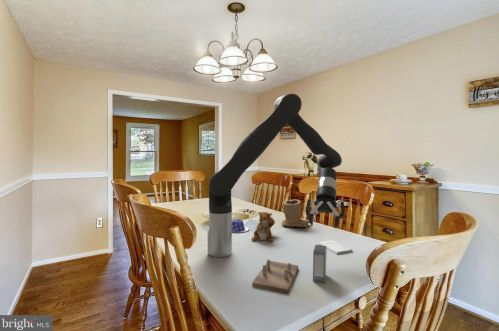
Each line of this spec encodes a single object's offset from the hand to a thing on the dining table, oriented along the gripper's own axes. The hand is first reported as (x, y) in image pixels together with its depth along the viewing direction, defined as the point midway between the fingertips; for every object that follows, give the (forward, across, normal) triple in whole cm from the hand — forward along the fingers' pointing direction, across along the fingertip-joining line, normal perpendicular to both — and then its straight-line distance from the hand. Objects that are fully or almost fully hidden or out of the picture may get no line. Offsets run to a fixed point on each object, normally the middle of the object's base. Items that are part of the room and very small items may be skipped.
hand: (323, 225), depth 92 cm
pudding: (-8, -46, +29) cm, 55 cm away
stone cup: (-21, -19, +42) cm, 50 cm away
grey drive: (+18, 0, +3) cm, 18 cm away
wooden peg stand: (+21, -13, -1) cm, 25 cm away
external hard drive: (-3, +3, +24) cm, 25 cm away
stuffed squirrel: (-3, -29, +24) cm, 38 cm away
